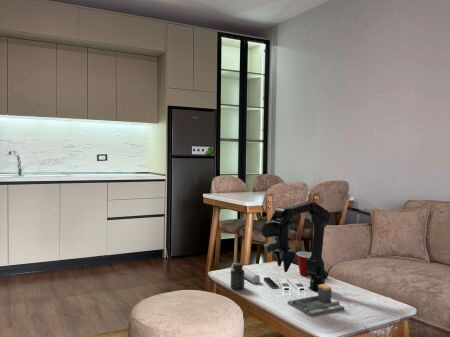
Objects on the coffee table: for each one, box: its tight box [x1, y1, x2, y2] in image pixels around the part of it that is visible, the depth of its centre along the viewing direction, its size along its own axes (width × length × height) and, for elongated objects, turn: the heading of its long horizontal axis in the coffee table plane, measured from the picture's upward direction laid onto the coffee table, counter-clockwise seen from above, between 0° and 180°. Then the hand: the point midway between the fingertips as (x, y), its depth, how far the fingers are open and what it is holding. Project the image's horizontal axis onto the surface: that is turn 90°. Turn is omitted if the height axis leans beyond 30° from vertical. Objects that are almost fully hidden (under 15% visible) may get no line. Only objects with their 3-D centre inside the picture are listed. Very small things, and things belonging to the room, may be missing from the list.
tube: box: [230, 262, 261, 285], centre depth 220 cm, size 5×5×25 cm
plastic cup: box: [295, 251, 312, 277], centre depth 226 cm, size 11×11×12 cm
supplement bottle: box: [230, 262, 245, 291], centre depth 202 cm, size 7×7×12 cm
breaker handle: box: [317, 283, 332, 304], centre depth 181 cm, size 3×5×7 cm, turn 27°
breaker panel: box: [287, 295, 345, 318], centre depth 179 cm, size 18×16×3 cm
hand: (282, 269), depth 188 cm, fingers open, 9 cm apart
